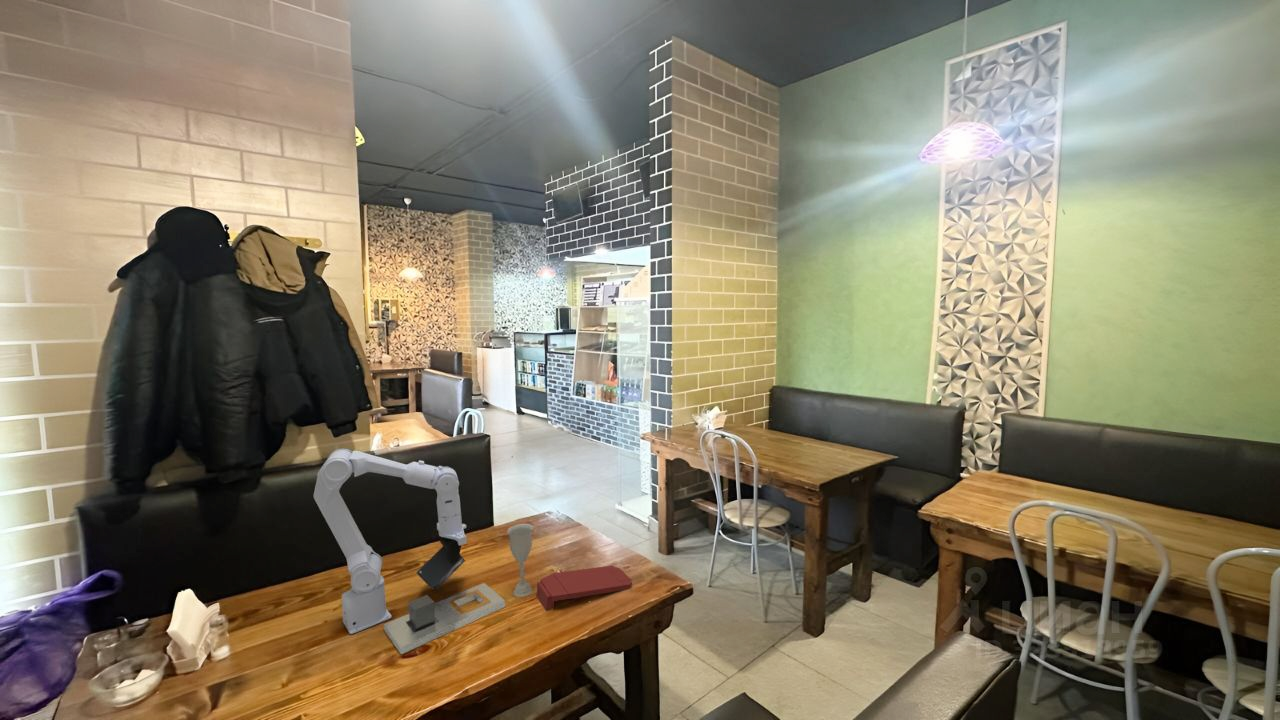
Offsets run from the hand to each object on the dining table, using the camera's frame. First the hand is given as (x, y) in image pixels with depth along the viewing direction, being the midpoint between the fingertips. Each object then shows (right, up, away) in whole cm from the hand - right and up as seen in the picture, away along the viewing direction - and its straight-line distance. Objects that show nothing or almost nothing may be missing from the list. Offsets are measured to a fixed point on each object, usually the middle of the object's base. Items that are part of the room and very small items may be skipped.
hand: (454, 562), depth 132 cm
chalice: (+18, -10, +4) cm, 21 cm away
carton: (+35, -10, +4) cm, 37 cm away
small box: (-6, -5, +9) cm, 12 cm away
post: (-3, -12, -12) cm, 17 cm away
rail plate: (+1, -11, -8) cm, 14 cm away
